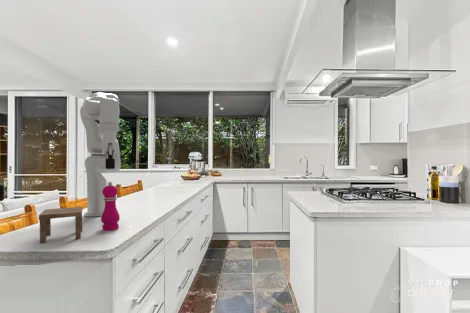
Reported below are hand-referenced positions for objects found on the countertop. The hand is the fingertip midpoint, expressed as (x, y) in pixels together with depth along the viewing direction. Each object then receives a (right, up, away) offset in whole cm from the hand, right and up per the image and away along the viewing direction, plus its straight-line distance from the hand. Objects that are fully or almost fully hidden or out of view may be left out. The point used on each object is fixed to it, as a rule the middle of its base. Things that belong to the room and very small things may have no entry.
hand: (110, 168), depth 119 cm
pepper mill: (0, -26, 0) cm, 26 cm away
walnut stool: (-13, -26, -11) cm, 31 cm away
